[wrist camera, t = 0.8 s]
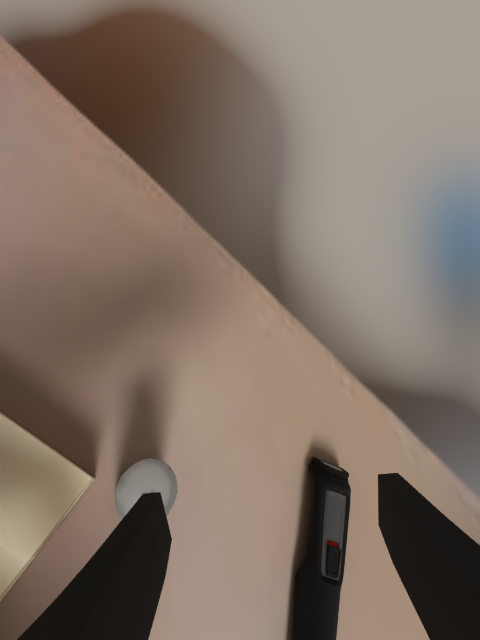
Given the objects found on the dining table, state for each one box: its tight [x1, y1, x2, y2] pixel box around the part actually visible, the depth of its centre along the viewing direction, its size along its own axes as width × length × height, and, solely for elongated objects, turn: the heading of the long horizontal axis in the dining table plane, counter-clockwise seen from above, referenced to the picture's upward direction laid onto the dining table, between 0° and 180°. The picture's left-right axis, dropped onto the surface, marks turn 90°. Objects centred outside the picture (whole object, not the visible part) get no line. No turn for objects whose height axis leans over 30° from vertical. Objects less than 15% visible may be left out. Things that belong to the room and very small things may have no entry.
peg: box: [115, 459, 177, 519], centre depth 19 cm, size 3×3×7 cm
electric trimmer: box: [293, 457, 351, 640], centre depth 22 cm, size 4×16×3 cm, turn 162°
